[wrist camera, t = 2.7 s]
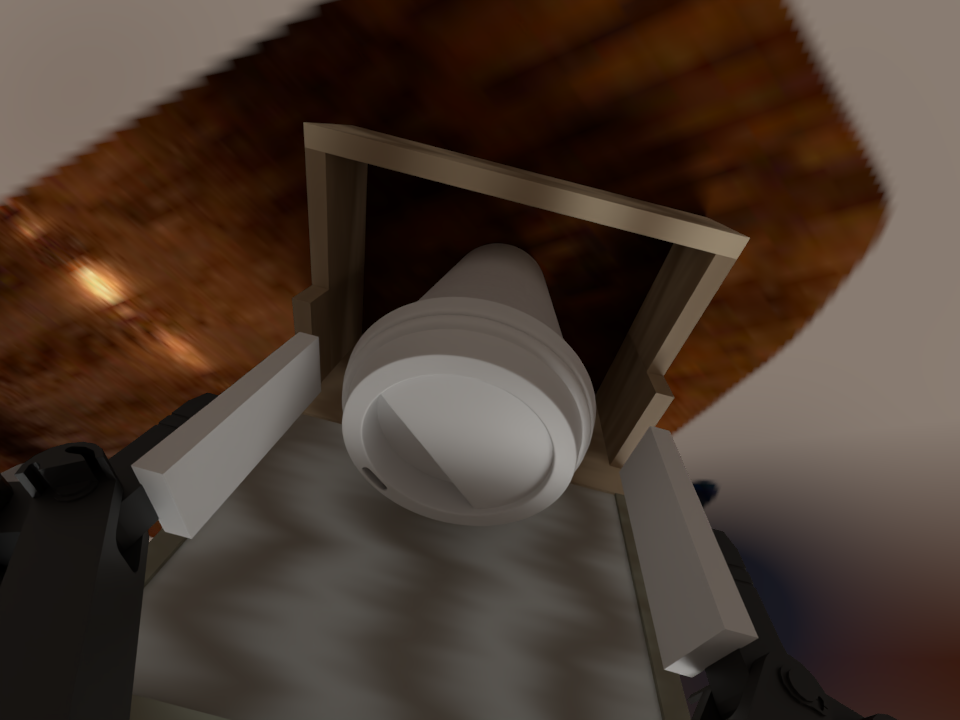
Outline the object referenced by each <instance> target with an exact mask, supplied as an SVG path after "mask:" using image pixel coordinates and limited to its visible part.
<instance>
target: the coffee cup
mask: <svg viewBox="0 0 960 720" xmlns="http://www.w3.org/2000/svg"><path fill="white" fill-rule="evenodd" d="M342 410H343V416H342V433H343V439H344V443H345V446H346V449H347V451H348V454H349V456H350V458H351V460H352V461H353V463H354V465H355V466H356V468H357V469H358V470H359V472H360V473H361V474H362V475H363V477H364V478H365V479H366V480H367V481H368V482H369V483H370V484H371V485H372V486H373V487H374V488H376V489H377V490H378V491H379V492H380V493H382V494H383V495H384V496H386V497H387V498H389V499H390V500H392V501H393V502H395V503H397V504H398V505H400V506H402V507H404V508H406V509H408V510H410V511H412V512H415V513H417V514H419V515H422V516H425V517H428V518H431V519H434V520H438V521H442V522H446V523H452V524H458V525H467V526H492V525H501V524H507V523H512V522H516V521H519V520H522V519H525V518H528V517H530V516H533V515H535V514H537V513H539V512H541V511H542V510H544V509H546V508H547V507H549V506H550V505H551V504H552V503H554V502H555V501H556V500H557V499H558V498H559V497H560V496H561V495H562V494H563V492H564V491H565V490H566V488H567V487H568V485H569V483H570V482H571V480H572V477H573V475H574V472H575V471H576V470H577V468H578V467H579V465H580V464H581V462H582V460H583V458H584V456H585V454H586V452H587V449H588V447H589V445H590V442H591V438H592V434H593V428H594V424H595V417H596V400H595V394H594V389H593V386H592V382H591V380H590V377H589V375H588V372H587V370H586V369H585V367H584V365H583V363H582V362H581V360H580V358H579V357H578V356H577V354H576V353H575V352H574V350H573V349H572V348H571V347H570V346H569V345H568V344H567V343H566V341H565V340H563V337H562V333H561V330H560V327H559V324H558V321H557V318H556V314H555V311H554V308H553V305H552V301H551V298H550V295H549V292H548V288H547V285H546V282H545V279H544V276H543V273H542V271H541V269H540V267H539V265H538V264H537V262H536V261H535V260H534V259H533V258H532V257H531V256H530V255H529V254H528V253H526V252H525V251H523V250H522V249H520V248H518V247H515V246H512V245H509V244H502V243H493V244H487V245H483V246H480V247H478V248H476V249H474V250H472V251H471V252H469V253H468V254H467V255H466V256H464V257H463V258H462V259H461V260H460V261H459V262H458V263H457V264H456V265H455V266H454V267H453V268H452V269H451V270H450V271H449V272H448V273H447V274H446V275H445V276H444V277H443V278H441V279H440V280H439V281H438V282H437V283H436V284H435V285H434V286H433V287H432V288H431V289H430V290H429V291H428V292H427V293H426V294H425V295H424V296H423V297H421V298H420V299H419V300H418V301H417V302H414V303H410V304H408V305H405V306H402V307H400V308H398V309H396V310H394V311H392V312H390V313H388V314H386V315H385V316H383V317H382V318H380V319H379V320H378V321H376V322H375V323H374V324H373V325H372V326H371V327H370V328H369V329H368V330H367V331H366V332H365V333H364V334H363V335H362V337H361V338H360V339H359V341H358V342H357V344H356V346H355V347H354V349H353V351H352V354H351V356H350V359H349V362H348V365H347V368H346V371H345V375H344V380H343V389H342Z"/></svg>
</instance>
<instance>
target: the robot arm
mask: <svg viewBox="0 0 960 720" xmlns="http://www.w3.org/2000/svg"><path fill="white" fill-rule="evenodd" d="M320 392H321V376H320V355H319V337H317V336H313V335H310V334H306V333H302V332H299V333H297V334H296V335H295V336H294V337H292V338H291V339H290V340H289V341H287V342H286V343H285V344H284V345H282V346H281V347H280V348H278V349H277V350H276V351H275V352H273V353H272V354H271V355H270V356H268V357H267V358H266V359H265V360H263V361H262V362H261V363H260V364H258V365H257V366H256V367H254V368H253V369H252V370H251V371H249V372H248V373H247V374H246V375H244V376H243V377H242V378H241V379H239V380H238V381H237V382H236V383H234V384H233V385H232V386H231V387H229V388H228V389H227V390H225V391H224V392H223V393H222V394H220V395H219V396H218V395H215V394H211V393H206V394H203V395H201V396H199V397H196V398H194V399H192V400H189V401H187V402H186V403H185V404H183V405H182V406H181V407H179V408H178V409H176V410H175V411H174V412H172V415H168V416H167V417H166V418H164V419H163V420H162V421H160V422H159V424H158V425H155V426H153V427H152V428H151V429H149V430H148V431H147V432H145V433H144V434H143V435H141V436H140V437H139V438H137V439H136V440H135V441H133V442H132V443H130V444H129V445H128V446H126V447H125V448H124V449H122V450H121V451H120V452H118V453H117V454H116V455H114V456H113V457H111V458H110V459H109V460H108V459H107V457H106V455H105V453H104V451H103V450H102V448H100V447H99V446H97V445H96V444H93V443H87V442H77V443H67V444H64V445H60V446H56V447H53V448H50V449H48V450H46V451H43V452H41V453H39V454H37V455H35V456H33V457H32V458H31V459H29V460H28V461H26V462H25V463H24V464H22V465H21V466H20V468H19V469H18V470H17V472H16V473H15V474H14V475H15V476H16V478H17V479H18V480H19V481H15V482H7V481H6V479H5V478H4V477H3V476H2V475H1V473H0V720H130V711H131V702H132V692H133V683H134V674H135V665H136V655H137V646H138V637H139V628H140V618H141V609H142V600H143V590H144V581H145V572H146V563H147V553H148V544H149V534H148V529H149V528H150V527H151V526H152V525H153V524H154V523H155V522H156V521H157V520H159V522H160V524H161V526H162V528H163V529H164V531H165V532H168V533H172V534H175V535H179V536H183V537H186V538H190V539H192V538H193V537H194V536H195V535H196V533H197V532H198V531H199V530H200V529H201V528H202V527H203V525H204V524H205V523H206V522H207V521H208V520H209V519H210V517H211V516H212V515H213V514H214V513H215V512H216V511H217V510H218V508H219V507H220V506H221V505H222V504H223V503H224V502H225V500H226V499H227V498H228V497H229V496H230V495H231V494H232V492H233V491H234V490H235V489H236V488H237V487H238V486H239V484H240V483H241V482H242V481H243V480H244V479H245V478H246V477H247V475H248V474H249V473H250V472H251V471H252V470H253V469H254V467H255V466H256V465H257V464H258V463H259V462H260V461H261V459H262V458H263V457H264V456H265V455H266V454H267V453H268V451H269V450H270V449H271V448H272V447H273V446H274V445H275V444H276V442H277V441H278V440H279V439H280V438H281V437H282V436H283V434H284V433H285V432H286V431H287V430H288V429H289V428H290V426H291V425H292V424H293V423H294V422H295V421H296V420H297V418H298V417H299V416H300V415H301V414H302V413H303V412H304V410H305V409H306V408H307V407H308V406H309V405H310V404H311V403H312V401H313V400H314V399H315V398H316V397H317V396H318V395H319V393H320ZM619 473H620V478H621V482H622V487H623V491H624V496H625V500H626V504H627V509H628V513H629V518H630V522H631V526H632V531H633V535H634V540H635V544H636V549H637V553H638V557H639V562H640V566H641V571H642V575H643V580H644V584H645V588H646V593H647V597H648V602H649V606H650V610H651V615H652V619H653V624H654V628H655V633H656V637H657V641H658V646H659V650H660V655H661V659H662V664H663V668H664V670H667V671H671V672H674V673H678V674H682V675H685V676H689V677H693V676H695V675H697V674H699V673H700V672H702V671H704V670H705V671H706V674H707V678H708V681H709V684H710V685H708V686H706V687H704V688H703V689H701V690H699V691H697V692H695V693H693V694H692V695H691V696H690V697H689V698H688V701H689V702H690V703H691V704H692V703H694V702H696V701H698V700H699V702H698V705H697V707H696V710H695V712H694V714H693V717H692V719H691V720H897V719H895V718H893V717H891V716H889V715H885V714H875V715H872V716H869V717H866V718H864V717H862V716H861V715H859V714H858V713H856V712H854V711H853V710H851V709H849V708H848V707H846V706H844V705H843V704H841V703H839V702H838V701H836V700H835V699H833V698H832V697H830V696H828V695H826V694H825V692H824V691H823V689H822V688H821V686H820V685H819V683H818V682H817V680H816V679H815V677H814V676H813V675H812V674H811V673H810V672H809V671H808V670H807V669H806V668H805V667H804V666H803V665H802V664H801V663H800V662H798V661H797V660H796V659H794V658H793V657H792V656H790V655H788V654H787V653H786V651H785V649H784V647H783V645H782V643H781V641H780V639H779V637H778V635H777V633H776V631H775V628H774V626H773V624H772V622H771V620H770V618H769V616H768V614H767V611H766V609H765V607H764V605H763V603H762V601H761V599H760V597H759V594H758V592H757V590H756V589H755V588H754V587H753V582H752V580H751V577H750V575H749V573H748V572H746V567H745V565H744V563H743V561H742V558H741V556H740V554H739V552H738V550H737V548H736V547H735V546H734V545H733V544H732V542H731V541H730V540H729V538H728V537H727V536H726V535H725V533H724V532H723V531H719V530H715V529H712V528H711V526H710V524H709V522H708V519H707V517H706V515H705V512H704V510H703V508H702V505H701V503H700V501H699V498H698V496H697V494H696V491H695V489H694V487H693V484H692V482H691V480H690V477H689V475H688V473H687V470H686V468H685V466H684V463H683V461H682V459H681V456H680V454H679V452H678V449H677V447H676V445H675V443H674V440H673V438H672V435H671V433H670V431H667V430H664V429H660V428H656V427H652V426H650V427H649V428H648V430H647V431H646V433H645V434H644V436H643V437H642V439H641V440H640V442H639V443H638V445H637V446H636V448H635V449H634V451H633V452H632V454H631V455H630V457H629V458H628V460H627V461H626V463H625V464H624V466H623V467H622V469H621V470H620V472H619Z"/></svg>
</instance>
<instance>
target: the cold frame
mask: <svg viewBox="0 0 960 720" xmlns="http://www.w3.org/2000/svg"><path fill="white" fill-rule="evenodd" d="M303 124H304V143H305V161H306V180H307V199H308V217H309V236H310V254H311V273H312V285H311V286H310V287H308V288H307V289H305V290H304V291H302V292H301V293H299V294H298V295H296V296H295V297H293V298H292V304H293V315H294V326H295V335H296V334H297V333H299V332H302V333H306V334H310V335H313V336H317V337H319V355H320V376H321V392H320V393H319V395H318V396H317V397H316V398H315V399H314V400H313V401H312V403H311V404H310V405H309V406H308V407H307V408H306V409H305V410H304V412H303V413H302V414H301V415H300V416H299V417H298V418H297V420H296V421H295V422H294V423H293V424H292V425H291V426H290V428H289V429H288V430H287V431H286V432H285V433H284V434H283V436H282V437H281V438H280V439H279V440H278V441H277V442H276V444H275V445H274V446H273V447H272V448H271V449H270V450H269V451H268V453H267V454H266V455H265V456H264V457H263V458H262V459H261V461H260V462H259V463H258V464H257V465H256V466H255V467H254V469H253V470H252V471H251V472H250V473H249V474H248V475H247V477H246V478H245V479H244V480H243V481H242V482H241V483H240V484H239V486H238V487H237V488H236V489H235V490H234V491H233V492H232V494H231V495H230V496H229V497H228V498H227V499H226V500H225V502H224V503H223V504H222V505H221V506H220V507H219V508H218V510H217V511H216V512H215V513H214V514H213V515H212V516H211V517H210V519H209V520H208V521H207V522H206V523H205V524H204V525H203V527H202V528H201V529H200V530H199V531H198V532H197V533H196V535H195V536H194V537H193V538H192V539H190V538H186V537H183V536H179V535H175V534H172V533H168V532H165V531H164V529H162V530H161V531H160V532H159V533H158V534H157V535H156V536H155V537H154V538H153V539H152V540H151V541H150V542H149V544H148V553H147V563H146V572H145V581H144V590H143V600H142V609H141V618H140V628H139V637H138V646H137V655H136V665H135V674H134V683H133V692H132V702H131V711H130V720H691V719H690V715H689V711H688V707H687V703H686V700H685V695H684V692H683V688H682V684H681V680H680V676H679V674H678V673H674V672H671V671H667V670H664V668H663V664H662V659H661V655H660V650H659V646H658V641H657V637H656V633H655V628H654V624H653V619H652V615H651V610H650V606H649V602H648V597H647V593H646V588H645V584H644V580H643V575H642V571H641V566H640V562H639V557H638V553H637V549H636V544H635V540H634V535H633V531H632V526H631V522H630V518H629V513H628V509H627V504H626V500H625V496H624V491H623V487H622V482H621V478H620V473H619V472H620V470H621V469H622V467H623V466H624V464H625V463H626V461H627V460H628V458H629V457H630V455H631V454H632V452H633V451H634V449H635V448H636V446H637V445H638V443H639V442H640V440H641V439H642V437H643V436H644V434H645V433H646V431H647V430H648V428H649V427H650V426H652V427H655V425H656V424H657V422H658V421H659V419H660V418H661V417H662V415H663V414H664V412H665V411H666V409H667V408H668V406H669V405H670V403H671V402H672V400H673V399H674V396H673V394H672V392H671V390H670V388H669V386H668V384H667V382H666V380H665V379H664V377H663V376H664V374H665V373H666V371H667V369H668V368H669V366H670V365H671V363H672V361H673V360H674V358H675V357H676V355H677V354H678V352H679V350H680V349H681V347H682V346H683V344H684V342H685V341H686V339H687V338H688V336H689V334H690V333H691V331H692V330H693V328H694V326H695V325H696V323H697V322H698V320H699V319H700V317H701V315H702V314H703V312H704V311H705V309H706V307H707V306H708V304H709V303H710V301H711V299H712V298H713V296H714V295H715V293H716V292H717V290H718V288H719V287H720V285H721V284H722V282H723V280H724V279H725V277H726V276H727V274H728V272H729V271H730V269H731V268H732V266H733V264H734V263H735V261H736V260H737V258H738V257H739V255H740V253H741V252H742V250H743V249H744V247H745V245H746V244H747V242H748V241H749V239H750V238H749V237H747V236H745V235H743V234H741V233H738V232H736V231H734V230H732V229H730V228H728V227H726V226H724V225H722V224H720V223H718V222H715V221H713V220H711V219H709V218H707V217H704V216H700V215H696V214H692V213H688V212H685V211H681V210H677V209H673V208H669V207H665V206H661V205H658V204H654V203H650V202H646V201H642V200H638V199H634V198H631V197H627V196H623V195H619V194H615V193H611V192H607V191H604V190H600V189H596V188H592V187H588V186H584V185H580V184H577V183H573V182H569V181H565V180H561V179H557V178H553V177H550V176H546V175H542V174H538V173H534V172H530V171H526V170H523V169H519V168H515V167H511V166H507V165H503V164H499V163H496V162H492V161H488V160H484V159H480V158H476V157H473V156H469V155H465V154H461V153H457V152H453V151H449V150H446V149H442V148H438V147H434V146H430V145H426V144H422V143H419V142H415V141H411V140H407V139H403V138H399V137H395V136H392V135H388V134H384V133H380V132H376V131H372V130H368V129H365V128H361V127H357V126H353V125H341V124H325V123H309V122H303ZM368 164H371V165H375V166H379V167H383V168H387V169H391V170H394V171H398V172H402V173H406V174H410V175H414V176H418V177H421V178H425V179H429V180H433V181H437V182H441V183H445V184H448V185H452V186H456V187H460V188H464V189H468V190H472V191H475V192H479V193H483V194H487V195H491V196H495V197H499V198H502V199H506V200H510V201H514V202H518V203H522V204H526V205H529V206H533V207H537V208H541V209H545V210H549V211H552V212H556V213H560V214H564V215H568V216H572V217H576V218H579V219H583V220H587V221H591V222H595V223H599V224H603V225H606V226H610V227H614V228H618V229H622V230H626V231H630V232H633V233H637V234H641V235H645V236H649V237H653V238H657V239H660V240H664V241H668V242H672V243H674V244H673V246H672V247H671V249H670V251H669V253H668V255H667V257H666V259H665V261H664V263H663V265H662V267H661V269H660V271H659V273H658V275H657V277H656V279H655V281H654V282H653V284H652V286H651V288H650V290H649V292H648V294H647V296H646V298H645V300H644V302H643V304H642V306H641V308H640V310H639V312H638V314H637V315H636V317H635V319H634V321H633V323H632V325H631V327H630V329H629V331H628V333H627V335H626V337H625V339H624V341H623V343H622V345H621V347H620V349H619V350H618V352H617V354H616V356H615V358H614V360H613V362H612V364H611V366H610V368H609V370H608V372H607V374H606V376H605V378H604V380H603V382H602V383H601V385H600V387H599V389H598V391H597V393H596V395H595V400H596V417H595V424H594V428H593V434H592V438H591V442H590V445H589V447H588V449H587V452H586V454H585V456H584V458H583V460H582V462H581V464H580V465H579V467H578V468H577V470H576V471H575V472H574V475H573V477H572V480H571V482H570V483H569V485H568V487H567V488H566V490H565V491H564V492H563V494H562V495H561V496H560V497H559V498H558V499H557V500H556V501H555V502H554V503H552V504H551V505H550V506H549V507H547V508H546V509H544V510H542V511H541V512H539V513H537V514H535V515H533V516H530V517H528V518H525V519H522V520H519V521H516V522H512V523H507V524H501V525H492V526H467V525H458V524H452V523H446V522H442V521H438V520H434V519H431V518H428V517H425V516H422V515H419V514H417V513H415V512H412V511H410V510H408V509H406V508H404V507H402V506H400V505H398V504H397V503H395V502H393V501H392V500H390V499H389V498H387V497H386V496H384V495H383V494H382V493H380V492H379V491H378V490H377V489H376V488H374V487H373V486H372V485H371V484H370V483H369V482H368V481H367V480H366V479H365V478H364V477H363V475H362V474H361V473H360V472H359V470H358V469H357V468H356V466H355V465H354V463H353V461H352V460H351V458H350V456H349V454H348V451H347V449H346V446H345V443H344V439H343V433H342V416H343V410H342V389H343V380H344V375H345V371H346V368H347V365H348V362H349V359H350V356H351V354H352V351H353V349H354V347H355V346H356V344H357V342H358V341H359V339H360V338H361V337H362V322H363V291H364V260H365V230H366V199H367V168H368Z"/></svg>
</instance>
